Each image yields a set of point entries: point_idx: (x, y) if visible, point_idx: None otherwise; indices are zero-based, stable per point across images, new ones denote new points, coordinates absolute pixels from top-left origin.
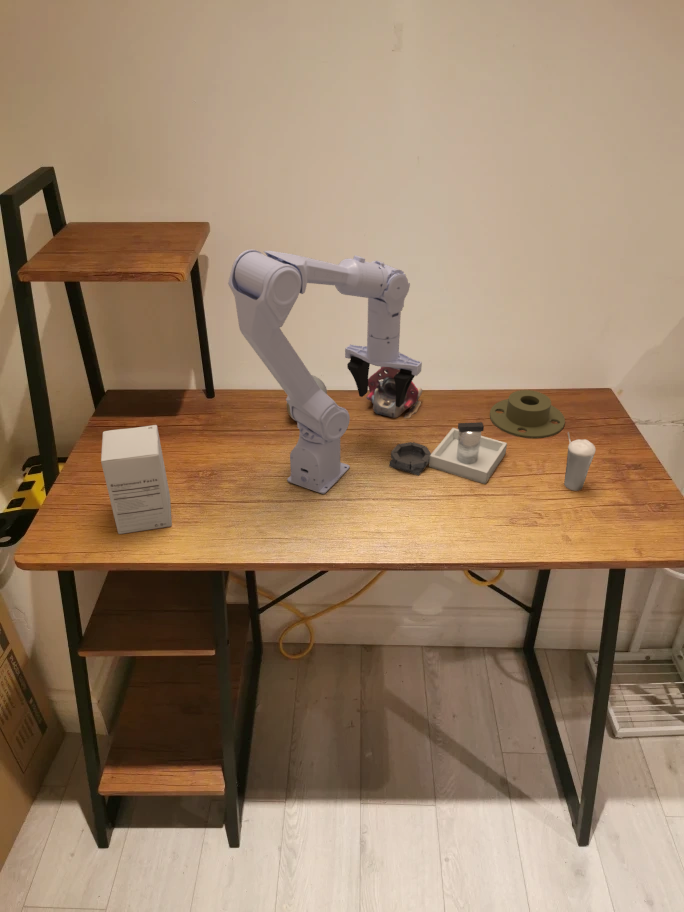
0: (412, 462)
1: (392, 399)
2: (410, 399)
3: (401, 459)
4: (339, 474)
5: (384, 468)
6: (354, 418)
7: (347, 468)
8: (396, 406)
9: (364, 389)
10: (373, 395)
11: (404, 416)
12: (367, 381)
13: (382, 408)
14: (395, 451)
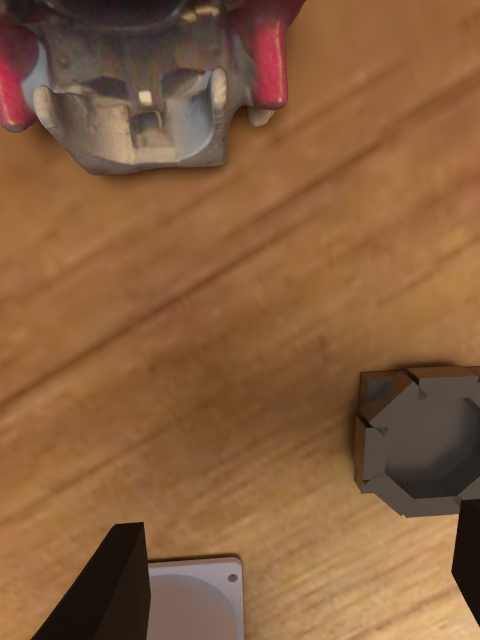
0: (465, 498)
1: (154, 58)
2: (270, 19)
3: (420, 504)
4: (236, 614)
5: (344, 496)
6: (48, 260)
7: (241, 579)
8: (457, 573)
9: (136, 618)
10: (26, 82)
11: (250, 112)
12: (109, 618)
13: (145, 166)
14: (378, 471)
